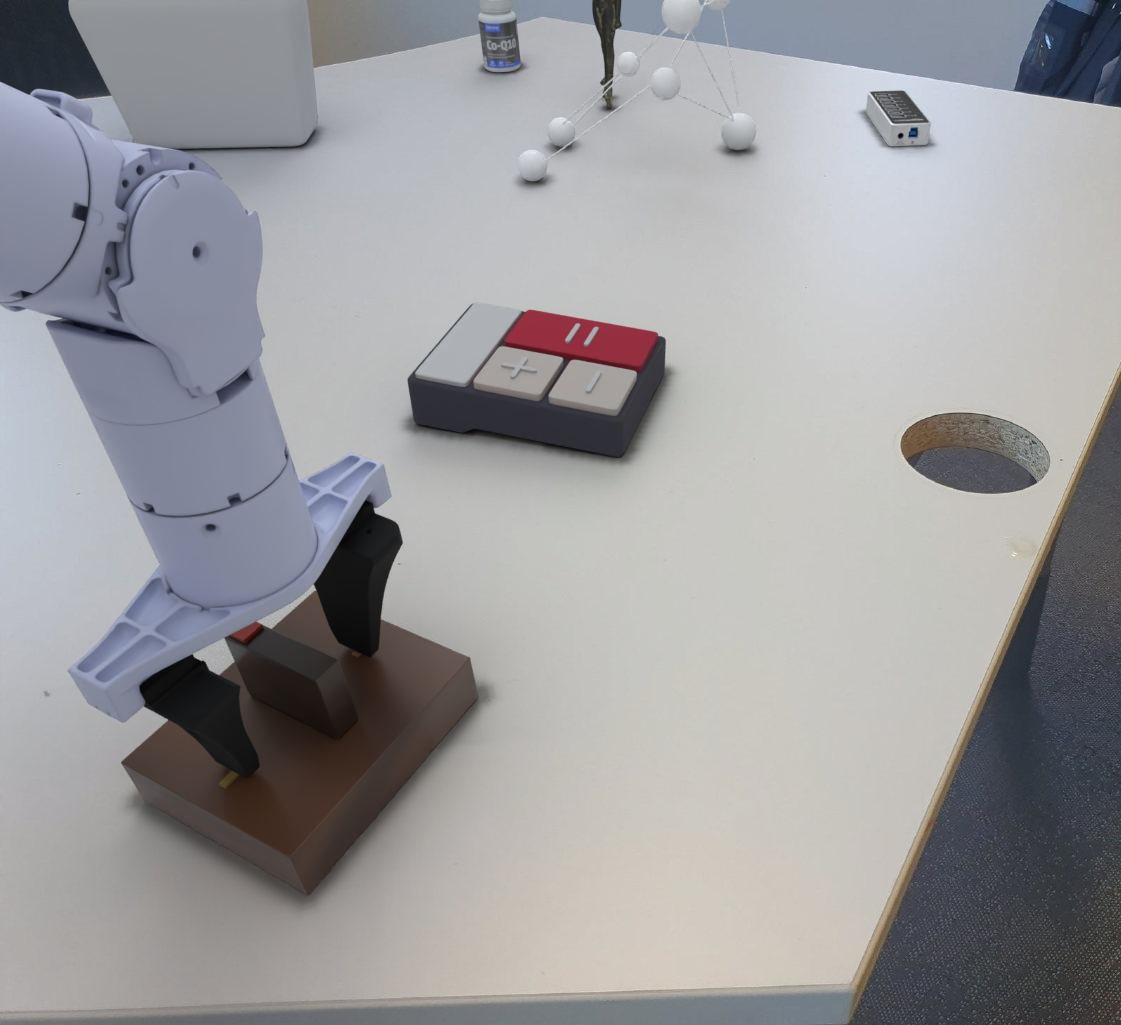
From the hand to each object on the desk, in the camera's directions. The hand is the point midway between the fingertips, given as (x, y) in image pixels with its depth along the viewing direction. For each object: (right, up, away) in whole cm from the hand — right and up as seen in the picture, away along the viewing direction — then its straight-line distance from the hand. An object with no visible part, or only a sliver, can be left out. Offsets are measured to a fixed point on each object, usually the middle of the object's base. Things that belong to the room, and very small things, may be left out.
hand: (301, 701), depth 46 cm
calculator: (+8, +17, +25) cm, 31 cm away
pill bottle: (-6, +66, +83) cm, 106 cm away
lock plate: (0, -3, +2) cm, 3 cm away
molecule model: (+13, +46, +59) cm, 76 cm away
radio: (-32, +50, +64) cm, 87 cm away
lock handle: (0, 0, 0) cm, 0 cm away
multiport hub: (+41, +52, +66) cm, 93 cm away
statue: (+8, +57, +72) cm, 92 cm away
